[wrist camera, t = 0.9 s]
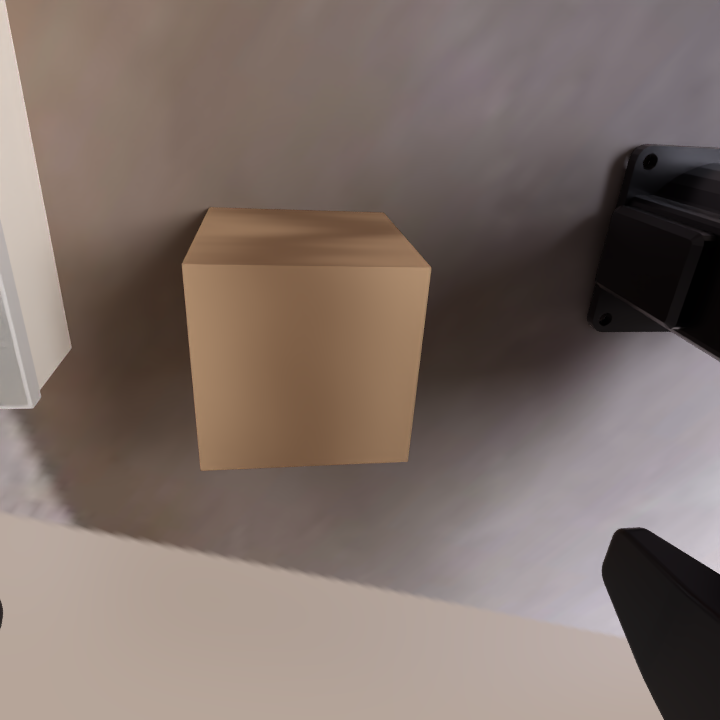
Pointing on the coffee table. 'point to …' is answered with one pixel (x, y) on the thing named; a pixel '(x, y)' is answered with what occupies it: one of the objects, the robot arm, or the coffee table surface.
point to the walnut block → (303, 337)
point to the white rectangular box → (24, 252)
